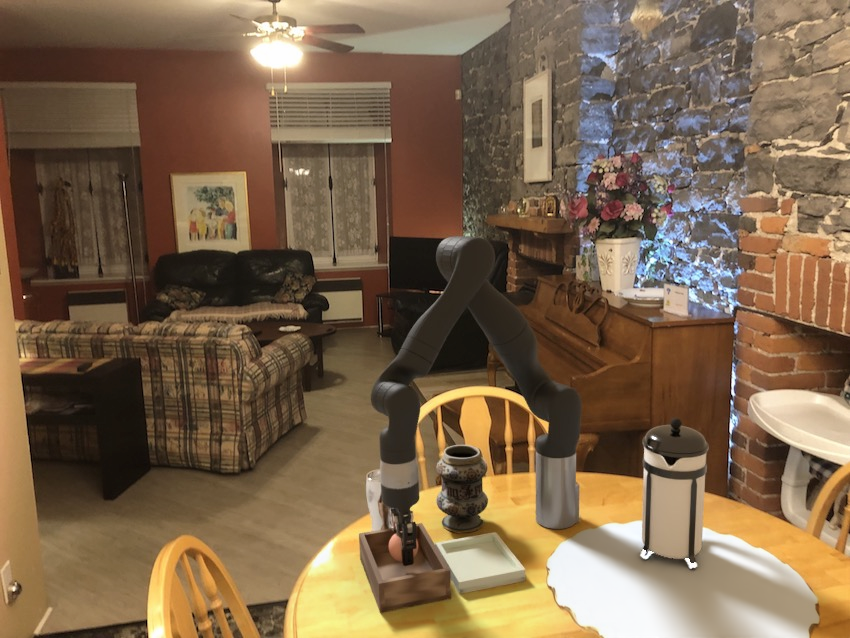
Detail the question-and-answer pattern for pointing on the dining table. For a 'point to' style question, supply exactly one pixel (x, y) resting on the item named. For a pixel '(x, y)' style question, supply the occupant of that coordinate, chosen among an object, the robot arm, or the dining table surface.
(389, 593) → the crate
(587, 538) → the dining table surface
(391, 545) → the ball
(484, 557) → the tray
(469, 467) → the apothecary jar
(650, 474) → the coffee press
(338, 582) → the dining table surface
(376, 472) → the beer glass
